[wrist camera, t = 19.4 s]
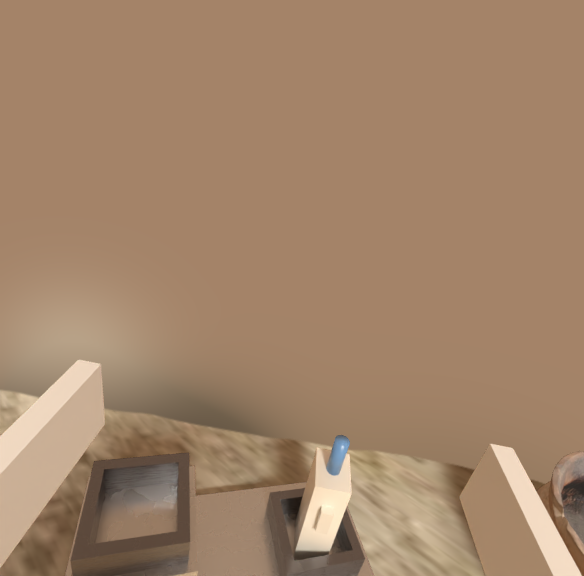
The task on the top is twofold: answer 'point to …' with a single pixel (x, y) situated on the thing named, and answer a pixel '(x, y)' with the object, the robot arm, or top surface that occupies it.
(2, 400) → the top surface
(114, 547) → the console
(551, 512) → the ceramic bowl
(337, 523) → the plug
